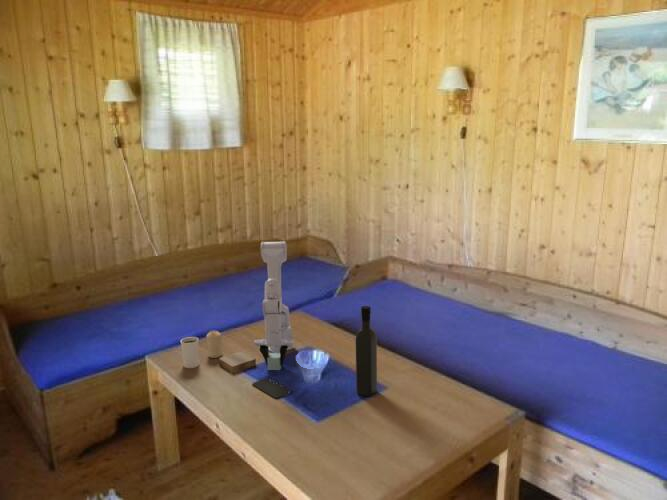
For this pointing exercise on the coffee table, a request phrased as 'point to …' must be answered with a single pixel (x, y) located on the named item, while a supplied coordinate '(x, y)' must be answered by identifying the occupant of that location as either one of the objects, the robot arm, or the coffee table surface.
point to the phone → (271, 388)
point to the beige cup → (190, 352)
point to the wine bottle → (366, 356)
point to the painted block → (274, 361)
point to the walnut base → (237, 361)
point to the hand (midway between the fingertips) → (274, 364)
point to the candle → (214, 344)
